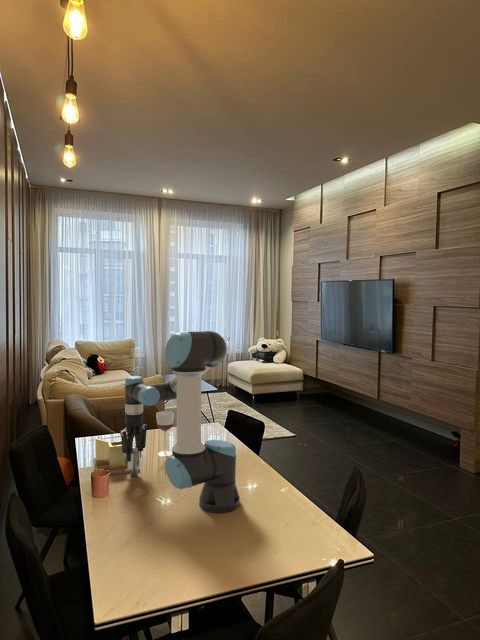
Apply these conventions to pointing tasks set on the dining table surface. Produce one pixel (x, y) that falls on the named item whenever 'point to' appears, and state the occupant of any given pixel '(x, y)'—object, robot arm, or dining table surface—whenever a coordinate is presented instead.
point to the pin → (134, 461)
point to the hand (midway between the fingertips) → (134, 466)
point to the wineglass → (165, 427)
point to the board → (112, 471)
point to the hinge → (110, 453)
